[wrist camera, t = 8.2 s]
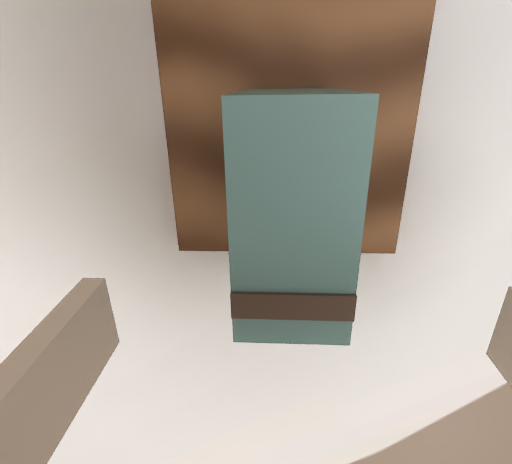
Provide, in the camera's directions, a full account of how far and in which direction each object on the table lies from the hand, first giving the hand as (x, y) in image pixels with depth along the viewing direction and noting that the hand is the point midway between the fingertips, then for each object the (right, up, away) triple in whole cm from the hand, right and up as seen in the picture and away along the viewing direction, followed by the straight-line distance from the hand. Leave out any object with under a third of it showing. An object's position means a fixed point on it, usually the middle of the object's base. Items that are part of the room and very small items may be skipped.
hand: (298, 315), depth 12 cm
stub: (+1, +7, +11) cm, 13 cm away
